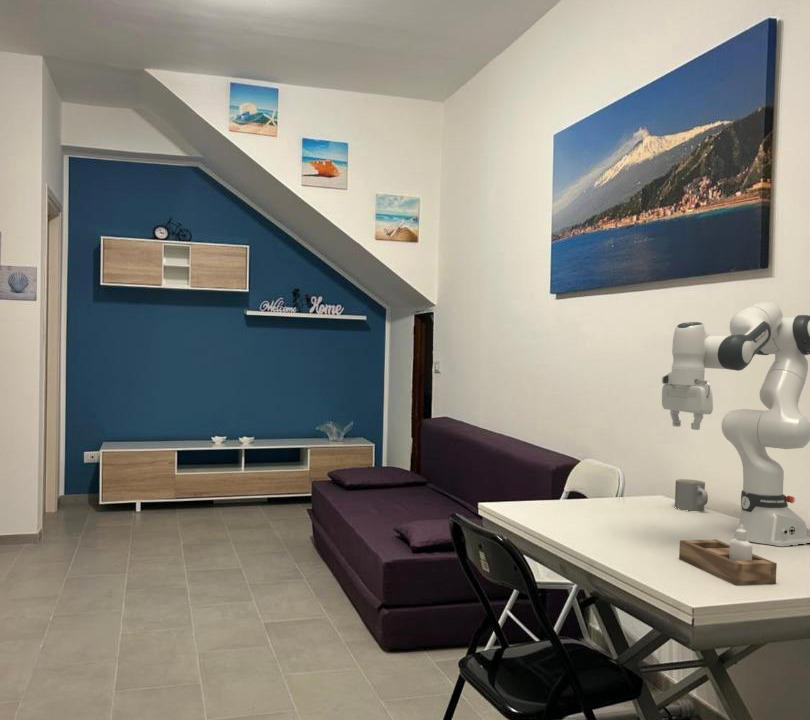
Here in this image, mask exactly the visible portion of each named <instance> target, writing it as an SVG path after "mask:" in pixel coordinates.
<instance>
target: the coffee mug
mask: <svg viewBox="0 0 810 720" xmlns="http://www.w3.org/2000/svg"><path fill="white" fill-rule="evenodd" d="M705 488H706V482H705V481H703V480H697V479H687V478H681V479H678V478H677V479H676V480H675V493H674V497H675V498H674V508H675V507H676V508H679V509H682V510H688V511H687V512H690V511H702V512H704V511H705V506H706V505H707V504H708V501H709V496H708V495H709V494H708V492H707V490H706V489H705ZM676 508H675V509H676ZM682 510H681V511H682ZM703 510H704V511H703Z"/></svg>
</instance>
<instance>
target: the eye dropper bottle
mask: <svg viewBox="0 0 810 720" xmlns="http://www.w3.org/2000/svg"><path fill="white" fill-rule="evenodd" d="M737 529H738V528H737ZM737 529H736V530H735V535H736V536H735V538H732V539H731V540H730V541H729V545H730V550H729V559H731V560H733V561H749V560H752V554H753V545H752V543H751V542H750V541H747V540H746V539H747V531H746V530H744V527H743V525H740V528H739V529H738V530H737Z"/></svg>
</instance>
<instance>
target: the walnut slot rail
mask: <svg viewBox="0 0 810 720" xmlns="http://www.w3.org/2000/svg"><path fill="white" fill-rule="evenodd" d="M729 550H730V543H729V544H728V543H726V542H724V541H722V540H718V539H681V540H679V552H678V553H679V554H678V555H679V556H678V559H679V560H680V561H683V562H684V563H687V564H689V565H691V566H693V567H696V568H697V569H700V570H702V571H704V572H706V573H709V574H711V575H713V576H714V577H717V578H719V579H721V580H723V581H726V582H728V583H730V584H732V585H734V586H749V585H750V586H752V585H753V586H756V585H757V586H758V585H776V584H777V565H778V564H777V562H774V561H773V560H770V559H767V558H764V557H761V556H759V555H756V554H754V553H752V560H749V561H733V560H731V559H729Z"/></svg>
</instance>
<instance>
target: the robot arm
mask: <svg viewBox="0 0 810 720" xmlns="http://www.w3.org/2000/svg"><path fill="white" fill-rule="evenodd" d="M783 316H784V315H783V311H782V309H781V308H780V306H779V305H777V304H776V303H775V302H772V301H767V300H766V301H760V302H755V303H752V304H750V305H748V306H746V307H744V308H742V309H741V310H739V311H737V312H736V313H735V314H734V315H733V316H732V317H731V319H730V321H729V331H730V334H728V335H727V334H719V335H718V334H710V333H709V332H707V331H706V329H705V325H704V323H702V322H700V321H689V322H681V323H680V324H678V325H676V326H675V329H674V332H673V338H672V346H671V347H672V350H671V352H672V359H673V360H672V365H671V371H670V372H669V373H667V374H666V375H664V376H662V377H661V384H662V385H663V386H662V388H661V405H662V409H664V410H669V411H670V412H669V413H670V417H671V420H672V424H671V425H672V427H680V428H681V425H682V424H681V423H682V421H681V420H680V417H679V415H680V412H683V413H691V414H693V421H692V422H691V423H690V424H691V425H690V428H691V430H694V431H699V430H701V429H700V428H701V423H702V420H703V419H704V415H711V414H712V413H713V409H714V404H713V403H714V402H713V401H714V399H713V391H712V389H711V384H709V382H708V380H705V370H706V369H715V370H716V369H720V370H730V371H739V372H740V371H743V370H744V369H746V368H747V367H748V365H749V364H750V363H751V361H752V360H753V359H754V357H755V356H756V355H759V356H769V355H774V360H773V362H772V364H771V366H770V367H769V368H768V372H767V374H766V376H765V378H764V381H763V383H762V384H761V385H762V386H761V387H760V389H759V399H760V402H761V403H762V404H763V406H765V407H766V408H767V410H765V409H764V410H761V409H750V408H749V409H748V408H743V409H732V410H729V411H728V412H727V413H725V415H724V416H723V418H722V420H721V431H722V432H721V433H722V434H723V436H724V438H725V439H726V440H727V441H728V442H730V444H732V446H733V447H734V448H735V450H736V451H737V453H738V455H739V457H740V460H741V464H742V476H743V477H742V481H743V482H742V483H743V484H742V490H741V495H740V507H741V511H740V517H739V523H738V527H737V529H736V530H738V529H739V528H740V525H743V527H744V530H746V531H747V539H746V540H747V541H748V542H749V543H757V544H764V545H771V546H776V547H790V545H793V546H799V545H798V544H804V545H807V544H806V543H810V536H808V532H807V531H808V528H807V525H806V522H805V520H804V519H803V518H801V517H800V516H799V515H798V514H797V513H795V511H793V510H792V509H791V508H790V507H788V506H789V505H788V503H790V504H794V503H795V502H796V498H795V496H791V495H785V494H784V481H785V480H784V479H785V478H784V476H785V473H784V472H785V471H784V469H783V467H782V466H781V464H780V463H779V462H777V461H776V460H774V459H773V458H771V457H770V456H769V454H768V453H767V449H766V448H772V449H781V450H792V449H793V450H794V449H803V448H805V447H806V446H807V445H808V444H809V442H810V420H809V419H808V418H807V417H806V416H805V415H804V414H802V412H800V409H799V401H800V397H801V394H802V392H803V390H804V387H805V384H806V381H807V377H808V370H809V362H808V360H807V358H806V356H809V355H810V315H808V314H807V315H806V314H797V316H795V315H794V316H784V317H783ZM734 536H735V537H736V534H735V535H734Z"/></svg>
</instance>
